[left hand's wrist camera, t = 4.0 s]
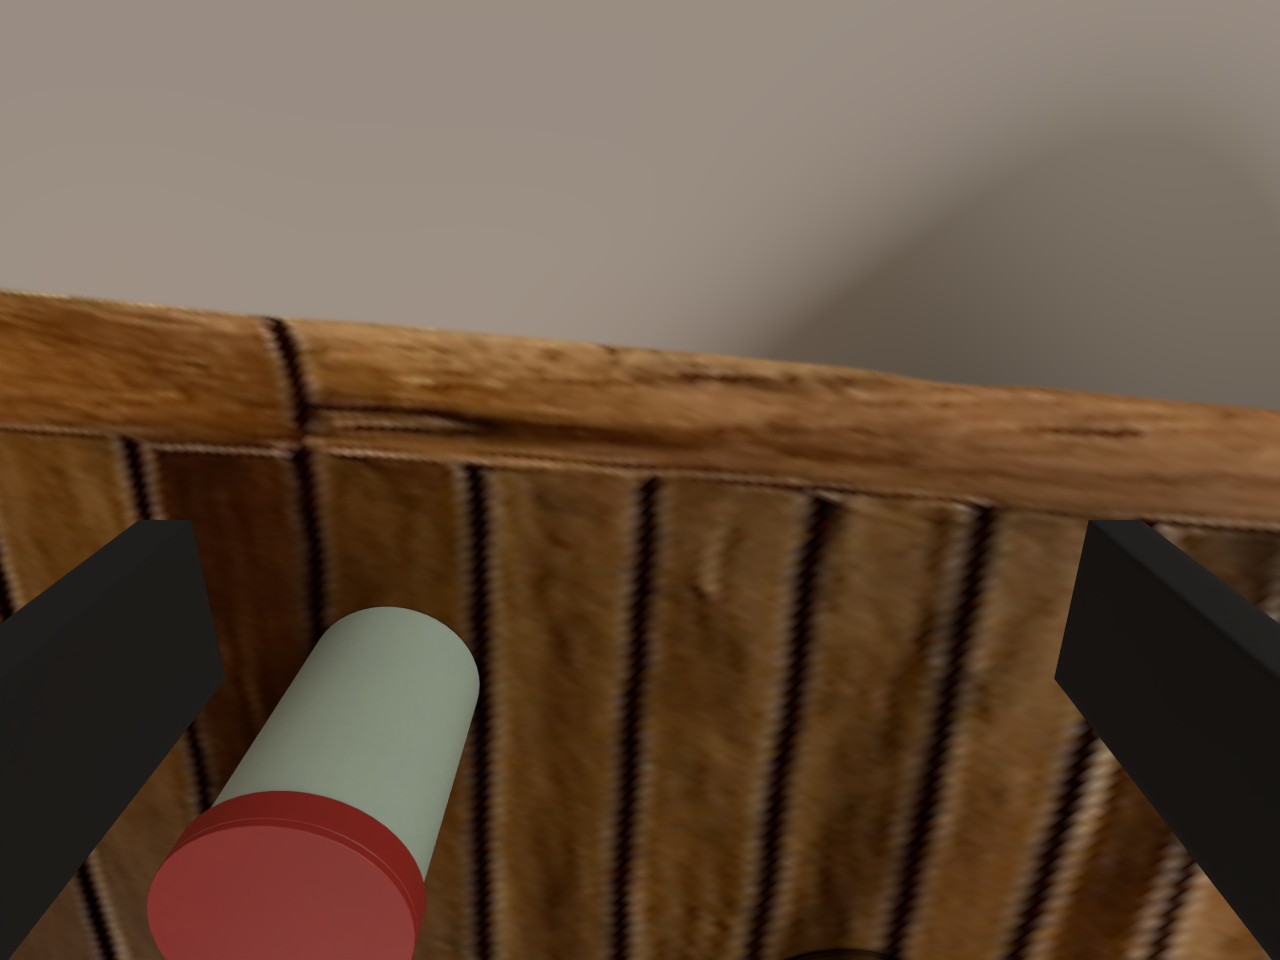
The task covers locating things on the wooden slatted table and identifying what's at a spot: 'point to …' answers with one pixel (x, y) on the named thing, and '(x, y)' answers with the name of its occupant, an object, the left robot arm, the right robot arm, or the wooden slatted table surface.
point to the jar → (372, 724)
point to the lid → (287, 884)
